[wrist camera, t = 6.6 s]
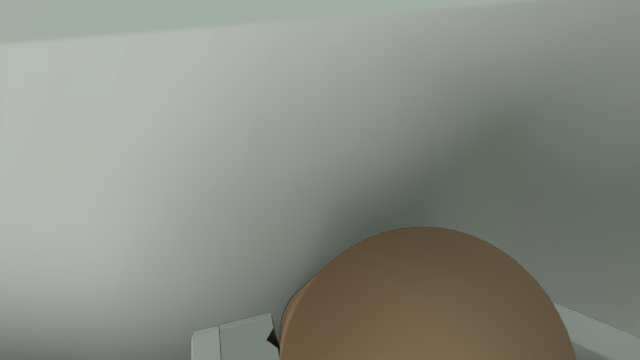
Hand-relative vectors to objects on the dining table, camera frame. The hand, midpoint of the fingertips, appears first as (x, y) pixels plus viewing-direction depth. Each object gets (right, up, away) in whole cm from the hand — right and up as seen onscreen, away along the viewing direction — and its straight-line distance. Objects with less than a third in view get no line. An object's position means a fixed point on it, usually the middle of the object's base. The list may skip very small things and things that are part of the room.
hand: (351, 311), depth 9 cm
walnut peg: (0, -2, +5) cm, 5 cm away
